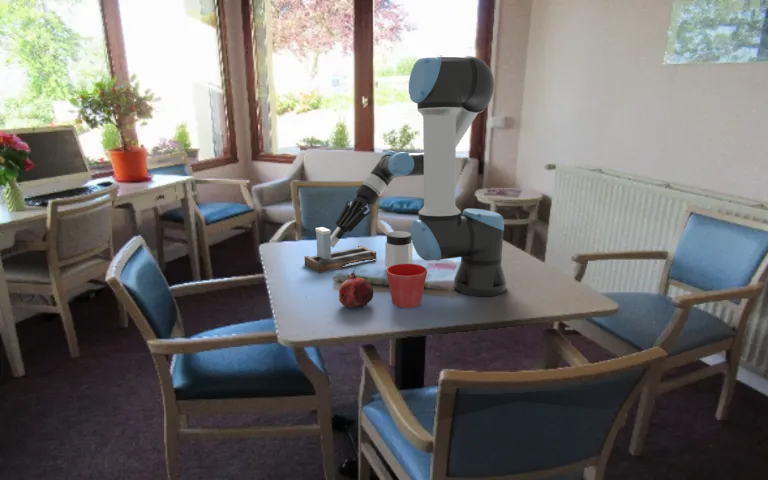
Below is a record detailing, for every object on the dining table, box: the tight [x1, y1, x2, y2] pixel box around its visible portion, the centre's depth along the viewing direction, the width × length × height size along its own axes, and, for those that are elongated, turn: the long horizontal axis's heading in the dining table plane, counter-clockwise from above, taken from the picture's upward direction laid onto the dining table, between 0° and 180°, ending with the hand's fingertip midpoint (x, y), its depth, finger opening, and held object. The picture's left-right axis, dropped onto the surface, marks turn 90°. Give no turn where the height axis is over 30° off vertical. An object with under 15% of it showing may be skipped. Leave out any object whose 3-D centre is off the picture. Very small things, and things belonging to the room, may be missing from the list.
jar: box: [384, 230, 414, 268], centre depth 161 cm, size 9×8×12 cm
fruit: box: [338, 270, 375, 309], centre depth 132 cm, size 9×10×10 cm
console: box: [304, 245, 377, 274], centre depth 169 cm, size 22×10×3 cm, turn 125°
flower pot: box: [385, 263, 428, 309], centre depth 135 cm, size 11×11×10 cm
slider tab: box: [315, 226, 332, 261], centre depth 164 cm, size 3×5×11 cm, turn 35°
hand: (329, 244), depth 166 cm, fingers closed
